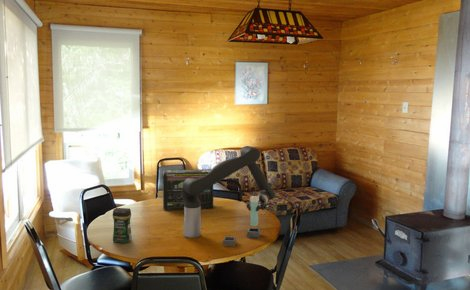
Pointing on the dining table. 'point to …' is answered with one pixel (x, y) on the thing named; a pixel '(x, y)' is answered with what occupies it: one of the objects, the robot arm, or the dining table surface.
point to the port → (253, 233)
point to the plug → (254, 209)
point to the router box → (175, 189)
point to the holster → (229, 241)
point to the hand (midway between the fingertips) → (253, 209)
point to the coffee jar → (122, 225)
